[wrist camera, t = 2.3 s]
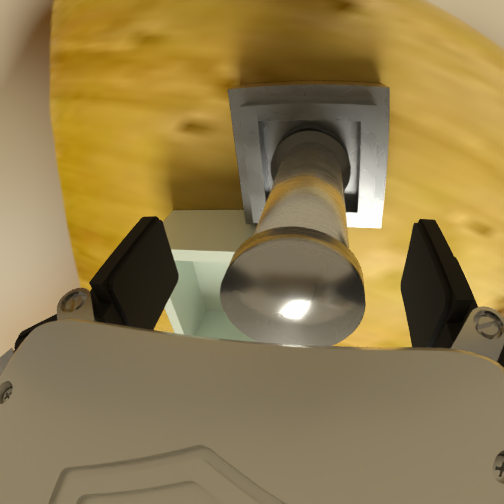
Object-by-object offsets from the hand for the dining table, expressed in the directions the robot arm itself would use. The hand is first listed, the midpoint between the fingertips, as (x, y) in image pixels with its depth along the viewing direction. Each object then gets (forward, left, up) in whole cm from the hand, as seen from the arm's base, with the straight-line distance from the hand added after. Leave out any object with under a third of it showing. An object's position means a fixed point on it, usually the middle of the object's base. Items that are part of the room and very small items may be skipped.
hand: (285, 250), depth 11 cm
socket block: (-1, 0, -13) cm, 13 cm away
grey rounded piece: (-1, 0, -10) cm, 10 cm away
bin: (+5, +12, -13) cm, 19 cm away
